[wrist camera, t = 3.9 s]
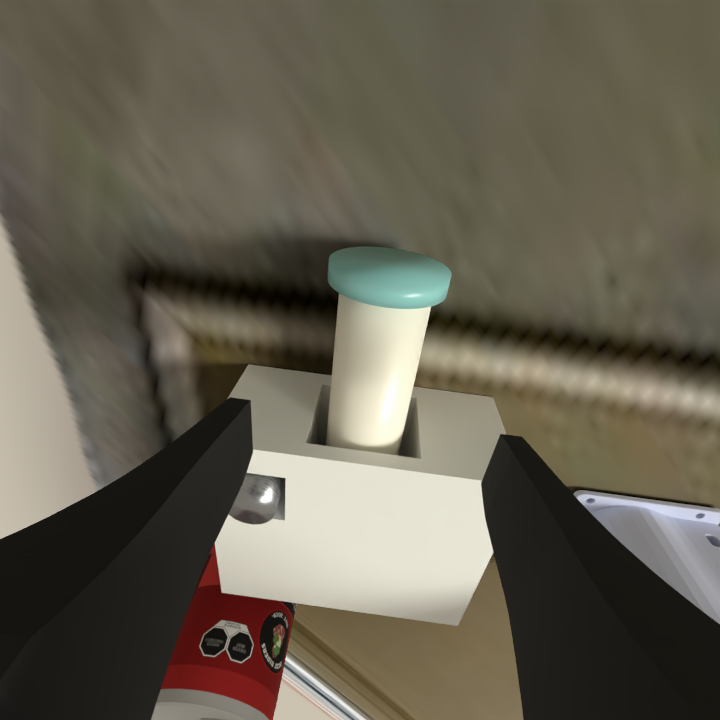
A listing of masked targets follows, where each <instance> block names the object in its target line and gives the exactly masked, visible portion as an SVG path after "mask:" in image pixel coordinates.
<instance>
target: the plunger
mask: <svg viewBox="0 0 720 720" xmlns="http://www.w3.org/2000/svg"><path fill="white" fill-rule="evenodd" d="M285 479H286V478H281V477H274V476H267V475H259V474H252V473H246V475H245V478H244V481H243V484H242V486H241V488H240V491H239V493H238V495H237V497H236V499H235V501H234V504H233V506H232V508H231V510H230V512H229V515H230V516H231V517H233V518H234V519H236V520H238V521H240V522H243V523H247V524H255V525H257V524H263V523H266V522H268V521H270V520H271V519H272V518H273V517H274V515H275V512H276V508H277V505H278V502H279V499H280V496H281V492H282V489H283V486H284V483H285Z"/></svg>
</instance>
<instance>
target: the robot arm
mask: <svg viewBox="0 0 720 720" xmlns="http://www.w3.org/2000/svg"><path fill="white" fill-rule="evenodd" d="M252 454H253V439H252V417H251V400H246V399H239V398H232V397H230V398H228V399H227V400H225V401H224V402H223V403H222V404H220V405H219V406H218V407H217V408H215V409H214V410H213V411H212V412H210V413H209V414H208V415H207V416H206V417H204V418H203V419H202V420H201V421H199V422H198V423H197V424H196V425H194V426H193V427H192V428H190V429H189V430H188V431H187V432H185V433H184V434H183V435H181V436H180V437H179V438H177V439H176V440H175V441H173V442H172V443H171V444H169V445H168V446H167V447H165V448H164V449H162V450H161V451H160V452H158V453H157V454H155V455H154V456H152V457H151V458H150V459H148V460H147V461H145V462H144V463H142V464H141V465H140V466H138V467H136V468H135V469H133V470H132V471H130V472H129V473H127V474H126V475H124V476H122V477H121V478H119V479H117V480H116V481H114V482H112V483H111V484H109V485H107V486H106V487H104V488H102V489H101V490H99V491H97V492H95V493H94V494H92V495H90V496H88V497H86V498H84V499H82V500H80V501H78V502H77V503H74V504H72V505H71V506H69V507H67V508H65V509H63V510H61V511H59V512H57V513H55V514H54V515H51V516H50V517H47V518H45V519H43V520H41V521H39V522H37V523H35V524H33V525H31V526H28V527H27V528H24V529H22V530H20V531H18V532H16V533H13V534H11V535H9V536H6V537H4V538H2V539H0V720H151V718H152V715H153V712H154V709H155V705H156V702H157V699H158V696H159V693H160V690H161V687H162V684H163V681H164V678H165V675H166V672H167V669H168V666H169V663H170V660H171V657H172V653H173V651H174V648H175V645H176V642H177V639H178V636H179V633H180V630H181V628H182V625H183V622H184V619H185V616H186V613H187V610H188V608H189V605H190V602H191V599H192V597H193V594H194V591H195V589H196V586H197V583H198V580H199V578H200V575H201V572H202V570H203V568H204V565H205V563H206V561H207V558H208V556H209V554H210V552H211V550H212V548H213V546H214V543H215V541H216V539H217V537H218V535H219V533H220V531H221V529H222V527H223V525H224V522H225V520H226V518H227V516H228V514H229V512H230V510H231V508H232V506H233V504H234V501H235V499H236V497H237V495H238V493H239V491H240V488H241V486H242V484H243V481H244V478H245V475H246V473H247V470H248V467H249V463H250V460H251V457H252ZM481 488H482V498H483V506H484V514H485V519H486V524H487V528H488V532H489V536H490V540H491V544H492V548H493V552H494V556H495V560H496V564H497V567H498V571H499V575H500V579H501V583H502V587H503V591H504V595H505V599H506V604H507V608H508V613H509V618H510V625H511V631H512V637H513V644H514V650H515V656H516V664H517V671H518V679H519V686H520V693H521V701H522V709H523V718H524V720H720V527H719V526H718V524H719V523H720V509H717V508H710V507H703V506H695V505H688V504H681V503H673V502H666V501H659V500H651V499H644V498H637V497H629V496H622V495H615V494H607V493H600V492H593V491H585V490H579V491H576V492H575V493H574V494H572V493H571V492H570V490H569V489H568V488H567V487H566V486H565V485H564V484H563V483H562V482H561V480H560V479H559V478H558V477H557V476H556V475H555V474H554V473H553V471H552V470H551V469H550V468H549V467H548V466H547V465H546V463H545V462H544V461H543V460H542V459H541V458H540V457H539V455H538V454H537V453H536V452H535V451H534V450H533V449H532V447H531V446H530V445H529V444H528V443H527V442H526V441H525V440H524V439H523V438H522V437H520V436H512V435H505V434H500V436H499V439H498V441H497V444H496V446H495V449H494V451H493V454H492V457H491V459H490V462H489V464H488V467H487V469H486V472H485V474H484V477H483V479H482V482H481Z"/></svg>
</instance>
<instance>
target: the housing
mask: <svg viewBox="0 0 720 720" xmlns="http://www.w3.org/2000/svg"><path fill="white" fill-rule="evenodd" d="M331 380H332V375H324V374H317V373H309V372H302V371H295V370H287V369H280V368H272V367H265V366H257V365H250V364H248V366H247V368H246V369H245V371H244V372H243V374H242V376H241V377H240V379H239V381H238V382H237V384H236V385H235V387H234V389H233V390H232V392H231V394H230V395H229V397H228V398H230V397H232V398H239V399H246V400H251V417H252V439H253V454H252V457H251V460H250V463H249V467H248V470H247V473H252V474H259V475H267V476H274V477H281V478H286V479H285V483H284V486H283V489H282V492H281V496H280V499H279V502H278V505H277V508H276V512H275V515H274V517H273V518H272V519H271V520H270V521H268V522H266V523H263V524H257V525H255V524H247V523H243V522H240V521H238V520H236V519H234V518H233V517H231V516H230V515H229V514H228V516H227V518H226V520H225V522H224V525H223V527H222V529H221V531H220V533H219V535H218V537H217V539H216V541H215V549H216V556H217V563H218V570H219V577H220V584H221V592H222V593H228V594H235V595H242V596H249V597H256V598H263V599H270V600H277V601H285V602H292V603H299V604H306V605H313V606H320V607H327V608H334V609H342V610H349V611H356V612H363V613H370V614H377V615H384V616H391V617H399V618H406V619H413V620H420V621H427V622H434V623H441V624H448V625H456V626H458V624H459V622H460V620H461V618H462V616H463V614H464V612H465V610H466V608H467V606H468V604H469V602H470V600H471V597H472V595H473V593H474V591H475V589H476V587H477V585H478V583H479V581H480V579H481V577H482V575H483V573H484V571H485V569H486V566H487V564H488V562H489V560H490V558H491V556H492V554H493V548H492V544H491V540H490V536H489V532H488V528H487V524H486V519H485V514H484V506H483V498H482V488H481V482H482V479H483V477H484V474H485V472H486V469H487V467H488V464H489V462H490V459H491V457H492V454H493V451H494V449H495V446H496V444H497V441H498V439H499V436H500V434H505V435H506V432H505V429H504V427H503V424H502V421H501V418H500V415H499V413H498V410H497V407H496V404H495V402H494V399H493V397H488V396H480V395H473V394H465V393H458V392H450V391H443V390H436V389H428V388H421V387H413V390H412V395H411V400H410V404H409V409H408V413H407V418H406V422H405V427H404V431H403V436H402V440H401V445H400V449H399V454H398V456H396V455H389V454H382V453H375V452H367V451H360V450H353V449H345V448H338V447H331V446H326V438H327V426H328V414H329V403H330V391H331ZM228 398H227V399H228Z"/></svg>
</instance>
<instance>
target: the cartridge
mask: <svg viewBox="0 0 720 720" xmlns="http://www.w3.org/2000/svg"><path fill="white" fill-rule="evenodd" d="M450 279H451V271H450V270H449V269H448V268H447V267H446V266H445V265H444V264H442V263H440V262H438V261H437V260H434V259H432V258H430V257H427V256H424V255H421V254H418V253H414V252H410V251H405V250H400V249H394V248H386V247H372V246H362V247H350V248H344V249H341V250H338V251H335V252H334V253H332V254H331V255H330V257H329V265H328V283H329V285H330V286H331V287H332V288H333V289H334V290H335V291H337V292H338V293H339V299H338V310H337V322H336V333H335V345H334V357H333V368H332V380H331V391H330V403H329V414H328V426H327V438H326V446H331V447H338V448H345V449H353V450H360V451H367V452H375V453H382V454H389V455H396V456H398V454H399V449H400V445H401V440H402V436H403V431H404V427H405V422H406V418H407V413H408V409H409V404H410V400H411V395H412V390H413V386H414V381H415V377H416V372H417V368H418V363H419V359H420V354H421V350H422V345H423V341H424V336H425V332H426V327H427V323H428V318H429V314H430V309H431V306H434V305H437V304H439V303H441V302H442V301H444V300H445V298H446V296H447V292H448V288H449V284H450Z"/></svg>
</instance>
